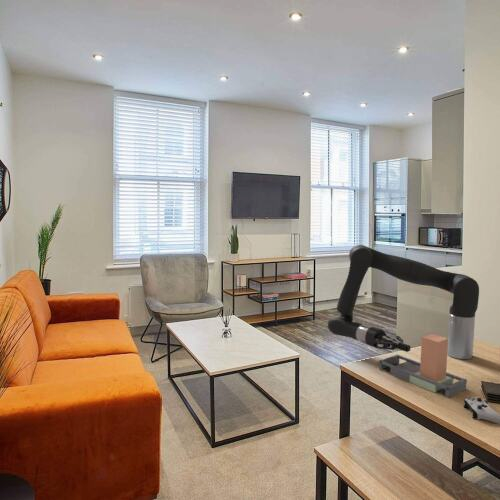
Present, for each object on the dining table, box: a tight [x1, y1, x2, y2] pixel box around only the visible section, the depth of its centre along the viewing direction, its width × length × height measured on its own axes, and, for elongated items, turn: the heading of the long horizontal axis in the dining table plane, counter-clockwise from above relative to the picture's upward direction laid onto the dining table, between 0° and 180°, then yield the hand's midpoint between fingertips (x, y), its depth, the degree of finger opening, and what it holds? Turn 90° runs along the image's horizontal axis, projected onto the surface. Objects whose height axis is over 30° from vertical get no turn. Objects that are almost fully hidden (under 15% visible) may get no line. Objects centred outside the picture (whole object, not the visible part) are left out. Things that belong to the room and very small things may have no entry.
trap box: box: [378, 354, 468, 399], centre depth 142 cm, size 11×27×3 cm, turn 34°
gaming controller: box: [463, 397, 500, 425], centre depth 119 cm, size 11×6×7 cm
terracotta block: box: [419, 333, 448, 382], centre depth 137 cm, size 6×6×14 cm
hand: (409, 348), depth 145 cm, fingers closed
